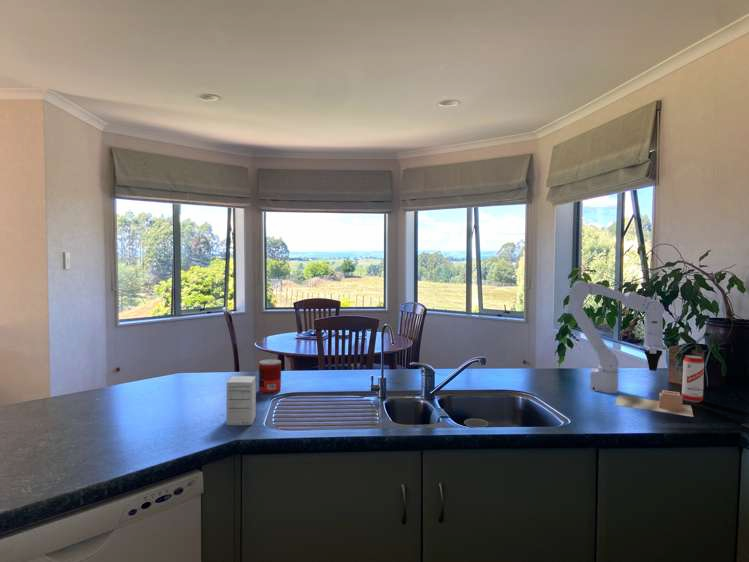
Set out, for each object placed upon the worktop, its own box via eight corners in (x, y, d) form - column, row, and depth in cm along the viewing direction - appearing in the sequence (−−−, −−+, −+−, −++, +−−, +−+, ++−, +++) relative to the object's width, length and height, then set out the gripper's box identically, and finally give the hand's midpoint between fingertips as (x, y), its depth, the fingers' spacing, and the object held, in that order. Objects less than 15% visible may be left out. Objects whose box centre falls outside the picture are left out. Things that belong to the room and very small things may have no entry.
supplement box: (231, 417, 141) (231, 375, 141) (256, 416, 142) (256, 375, 142) (225, 425, 134) (225, 382, 134) (251, 425, 135) (252, 382, 134)
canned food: (284, 389, 173) (285, 360, 172) (271, 395, 165) (271, 364, 165) (268, 387, 176) (268, 358, 175) (254, 392, 169) (254, 362, 168)
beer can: (705, 403, 165) (707, 358, 165) (686, 402, 166) (688, 357, 166) (697, 398, 171) (699, 355, 171) (678, 397, 173) (680, 354, 172)
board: (614, 408, 158) (615, 395, 158) (617, 398, 170) (618, 386, 170) (693, 420, 146) (694, 407, 146) (690, 409, 158) (691, 396, 158)
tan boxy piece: (659, 407, 155) (659, 392, 155) (659, 404, 159) (659, 389, 159) (682, 411, 152) (682, 395, 151) (681, 407, 156) (682, 392, 156)
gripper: (666, 336, 161) (666, 375, 162) (666, 331, 174) (665, 367, 174) (643, 334, 165) (642, 373, 165) (644, 330, 177) (643, 365, 178)
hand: (652, 370), depth 170 cm, fingers closed
